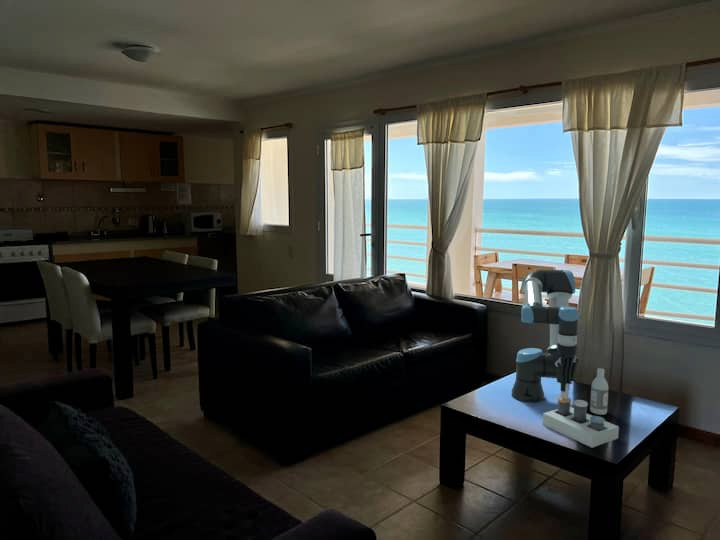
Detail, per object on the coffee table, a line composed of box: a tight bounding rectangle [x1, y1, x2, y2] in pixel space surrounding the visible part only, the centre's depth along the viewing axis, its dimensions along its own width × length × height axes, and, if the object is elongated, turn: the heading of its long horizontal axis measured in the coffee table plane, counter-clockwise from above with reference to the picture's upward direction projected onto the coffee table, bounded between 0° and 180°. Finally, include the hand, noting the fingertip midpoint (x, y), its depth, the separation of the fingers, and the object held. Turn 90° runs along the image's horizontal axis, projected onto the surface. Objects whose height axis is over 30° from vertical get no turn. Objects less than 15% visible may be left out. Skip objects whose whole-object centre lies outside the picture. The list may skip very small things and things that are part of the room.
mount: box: [542, 406, 620, 448], centre depth 211 cm, size 24×16×5 cm, turn 29°
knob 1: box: [557, 395, 572, 417], centre depth 218 cm, size 5×5×8 cm
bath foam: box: [589, 367, 609, 415], centre depth 230 cm, size 7×7×20 cm
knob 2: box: [573, 399, 589, 423], centre depth 211 cm, size 5×5×8 cm
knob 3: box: [590, 415, 606, 431], centre depth 204 cm, size 5×5×8 cm
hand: (564, 398), depth 217 cm, fingers closed
